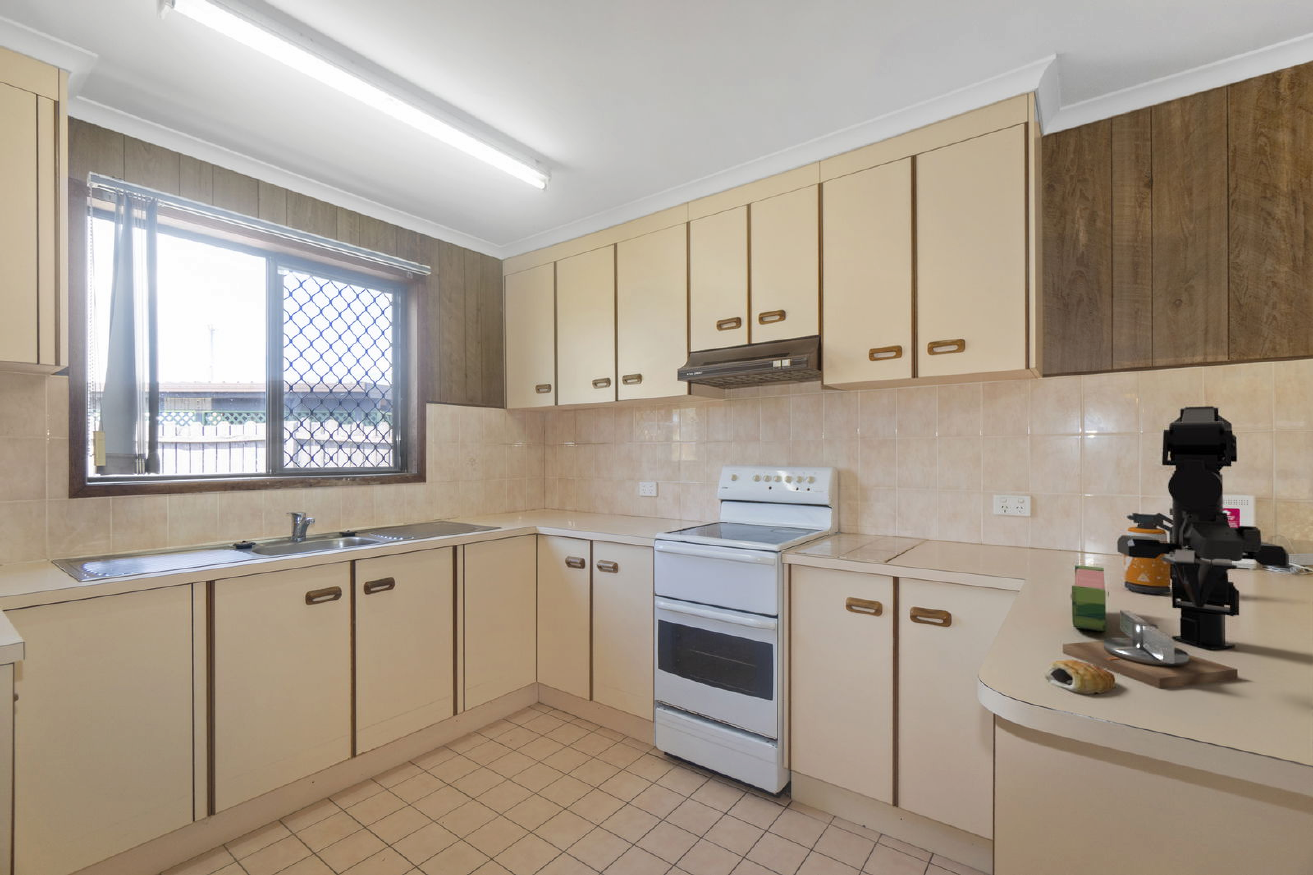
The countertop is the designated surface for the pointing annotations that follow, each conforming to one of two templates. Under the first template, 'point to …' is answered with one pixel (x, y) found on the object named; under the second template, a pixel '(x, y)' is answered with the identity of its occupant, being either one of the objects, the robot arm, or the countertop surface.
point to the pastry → (1079, 677)
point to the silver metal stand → (1144, 643)
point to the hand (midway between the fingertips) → (1198, 607)
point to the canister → (1148, 571)
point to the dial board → (1152, 667)
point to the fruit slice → (1089, 598)
